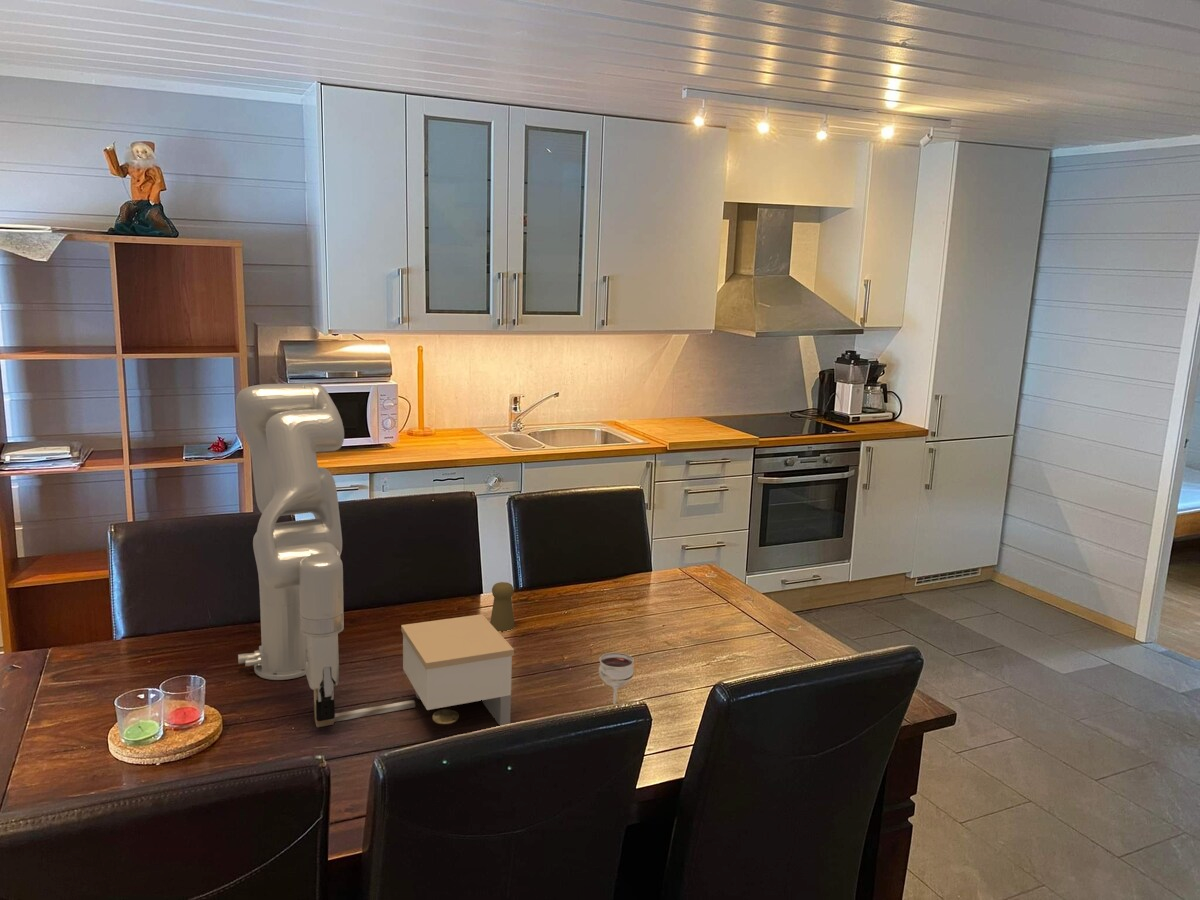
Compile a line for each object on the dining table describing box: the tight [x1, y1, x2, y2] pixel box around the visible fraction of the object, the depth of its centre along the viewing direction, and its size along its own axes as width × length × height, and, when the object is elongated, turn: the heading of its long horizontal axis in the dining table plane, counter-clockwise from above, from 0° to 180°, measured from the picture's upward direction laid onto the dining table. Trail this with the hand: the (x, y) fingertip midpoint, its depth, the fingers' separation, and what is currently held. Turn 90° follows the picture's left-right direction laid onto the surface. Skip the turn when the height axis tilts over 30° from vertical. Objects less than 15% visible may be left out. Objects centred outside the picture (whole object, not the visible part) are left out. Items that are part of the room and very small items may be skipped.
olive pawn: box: [489, 581, 516, 631], centre depth 210 cm, size 6×6×11 cm
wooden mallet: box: [313, 682, 416, 728], centre depth 166 cm, size 18×3×8 cm, turn 115°
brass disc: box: [431, 708, 460, 725], centre depth 167 cm, size 5×5×1 cm
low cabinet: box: [400, 613, 515, 726], centre depth 168 cm, size 17×19×15 cm
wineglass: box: [598, 652, 635, 705], centre depth 168 cm, size 7×7×12 cm
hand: (324, 714), depth 163 cm, fingers closed on wooden mallet, 2 cm apart
